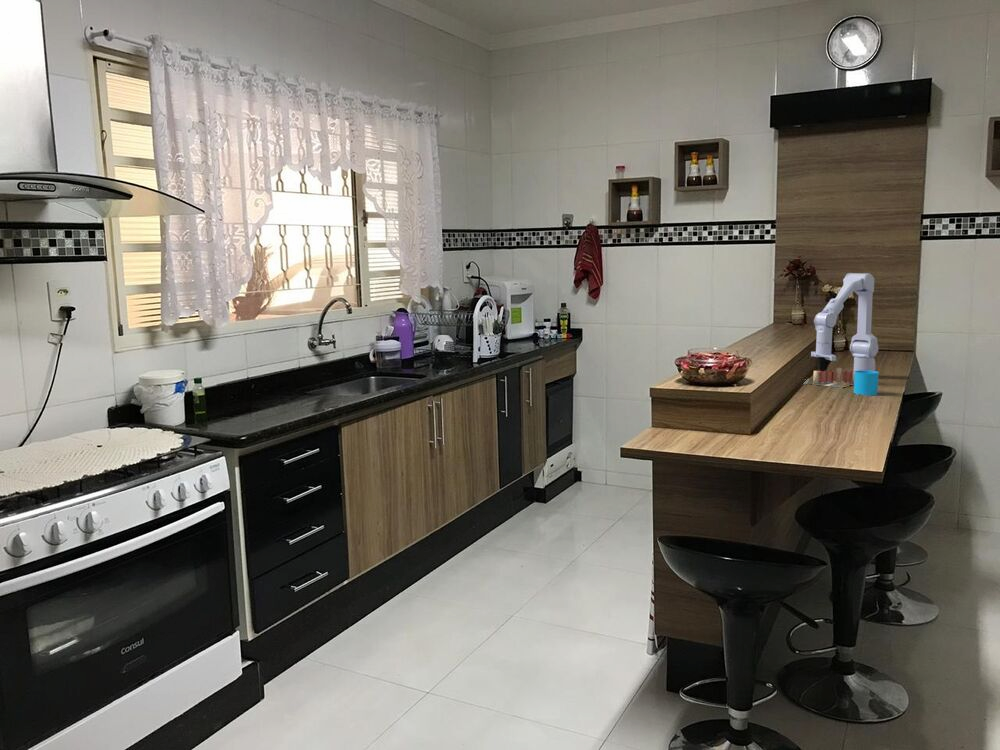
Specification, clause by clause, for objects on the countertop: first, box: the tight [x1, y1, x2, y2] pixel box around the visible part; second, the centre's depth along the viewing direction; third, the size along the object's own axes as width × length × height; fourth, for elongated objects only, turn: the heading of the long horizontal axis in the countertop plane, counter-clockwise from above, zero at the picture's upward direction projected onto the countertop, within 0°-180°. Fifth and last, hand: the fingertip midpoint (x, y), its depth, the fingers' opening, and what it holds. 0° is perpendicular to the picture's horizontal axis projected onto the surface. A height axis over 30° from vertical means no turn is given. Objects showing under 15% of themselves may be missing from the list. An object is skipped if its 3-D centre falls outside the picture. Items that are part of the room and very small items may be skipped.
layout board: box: [802, 377, 852, 389], centre depth 329 cm, size 23×20×1 cm
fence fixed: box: [835, 367, 855, 384], centre depth 324 cm, size 8×2×6 cm, turn 46°
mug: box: [853, 370, 880, 396], centre depth 303 cm, size 12×8×8 cm
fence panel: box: [812, 369, 837, 384], centre depth 324 cm, size 10×2×5 cm, turn 108°
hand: (822, 376), depth 326 cm, fingers closed, pressing on fence panel
